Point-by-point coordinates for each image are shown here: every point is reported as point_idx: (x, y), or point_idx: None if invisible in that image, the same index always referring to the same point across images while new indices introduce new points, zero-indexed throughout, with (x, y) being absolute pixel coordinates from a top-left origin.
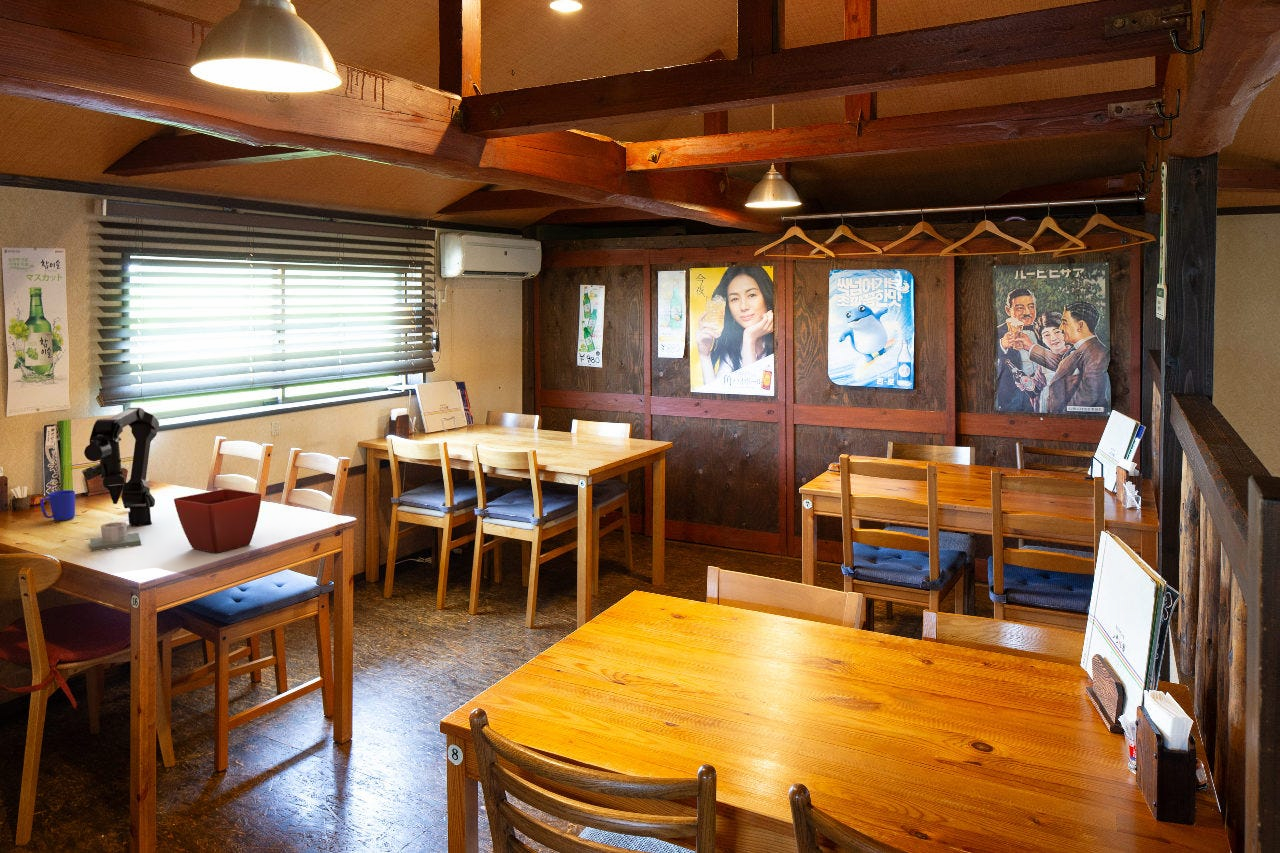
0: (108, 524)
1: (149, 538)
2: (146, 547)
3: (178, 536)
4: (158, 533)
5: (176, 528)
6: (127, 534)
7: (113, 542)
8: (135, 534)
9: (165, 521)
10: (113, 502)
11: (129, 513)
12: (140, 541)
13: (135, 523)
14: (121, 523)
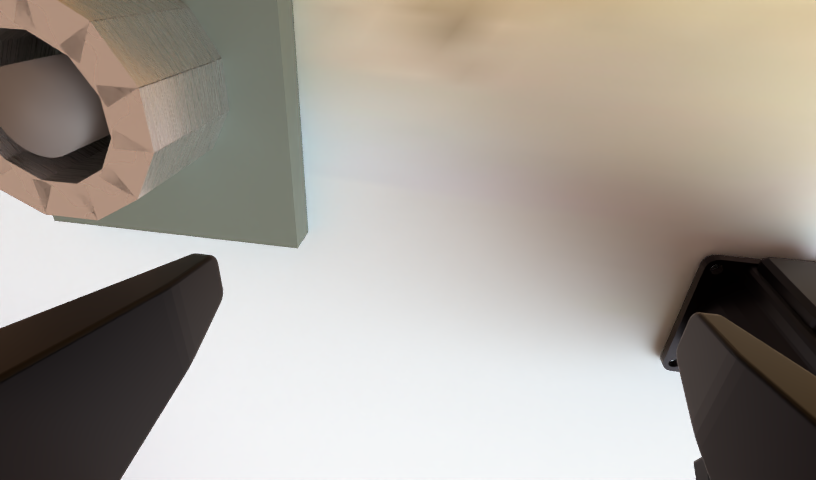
0: (78, 66)
1: (241, 273)
2: (11, 220)
3: (220, 382)
4: (352, 333)
5: (426, 418)
6: (281, 182)
7: None
8: (253, 225)
9: (680, 426)
10: (173, 267)
11: (812, 321)
12: (59, 216)
13: (725, 291)
14: (80, 182)
